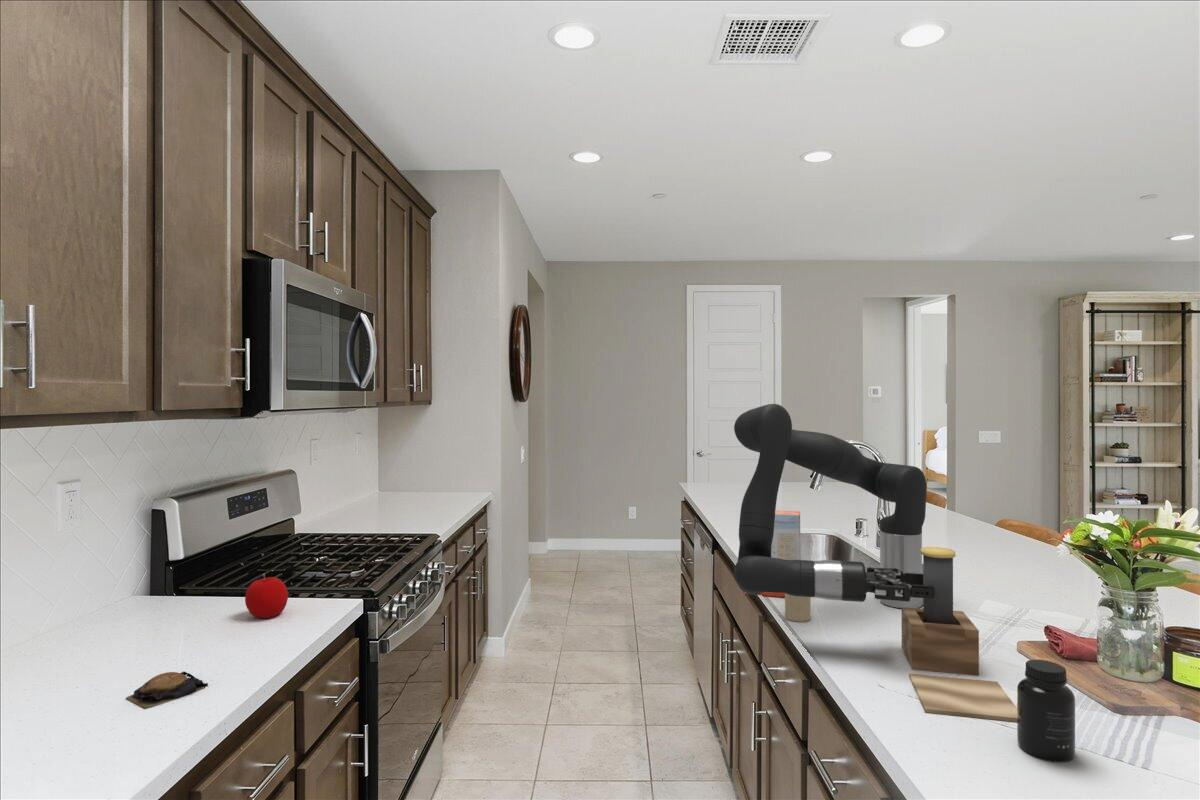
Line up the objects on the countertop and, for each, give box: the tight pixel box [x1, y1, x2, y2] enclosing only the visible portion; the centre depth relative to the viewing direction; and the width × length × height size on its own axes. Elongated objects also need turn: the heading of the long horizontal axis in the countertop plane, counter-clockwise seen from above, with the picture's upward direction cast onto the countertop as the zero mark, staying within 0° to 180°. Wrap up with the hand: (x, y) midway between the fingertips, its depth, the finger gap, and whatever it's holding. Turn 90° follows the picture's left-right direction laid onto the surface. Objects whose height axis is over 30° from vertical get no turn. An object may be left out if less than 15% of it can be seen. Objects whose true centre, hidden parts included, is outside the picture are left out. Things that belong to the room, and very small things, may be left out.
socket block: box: [901, 607, 980, 676], centre depth 128 cm, size 11×11×8 cm
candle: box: [784, 593, 812, 623], centre depth 152 cm, size 6×6×10 cm
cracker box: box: [742, 509, 802, 598], centre depth 171 cm, size 14×6×21 cm, turn 71°
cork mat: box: [908, 673, 1017, 723], centre depth 112 cm, size 14×14×1 cm
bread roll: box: [125, 671, 209, 710], centre depth 116 cm, size 11×8×4 cm
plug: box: [921, 546, 956, 625], centre depth 128 cm, size 6×6×15 cm
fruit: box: [244, 573, 289, 619], centre depth 156 cm, size 9×9×10 cm
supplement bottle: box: [1016, 659, 1076, 763], centre depth 95 cm, size 7×7×12 cm
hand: (929, 585), depth 128 cm, fingers open, 8 cm apart
